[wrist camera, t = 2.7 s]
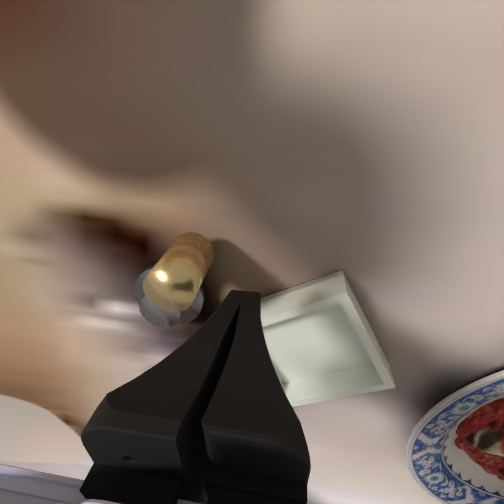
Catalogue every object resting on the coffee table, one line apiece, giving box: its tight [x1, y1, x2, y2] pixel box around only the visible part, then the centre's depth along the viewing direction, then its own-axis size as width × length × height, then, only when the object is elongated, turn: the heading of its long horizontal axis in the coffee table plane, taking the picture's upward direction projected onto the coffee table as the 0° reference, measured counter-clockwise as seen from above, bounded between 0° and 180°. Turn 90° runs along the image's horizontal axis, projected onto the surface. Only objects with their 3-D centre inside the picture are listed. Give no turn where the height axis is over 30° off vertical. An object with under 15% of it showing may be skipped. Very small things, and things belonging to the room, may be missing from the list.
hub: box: [134, 261, 207, 324], centre depth 21 cm, size 5×5×1 cm
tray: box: [261, 270, 396, 406], centre depth 21 cm, size 9×9×2 cm
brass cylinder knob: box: [139, 232, 214, 327], centre depth 17 cm, size 8×3×4 cm, turn 150°
